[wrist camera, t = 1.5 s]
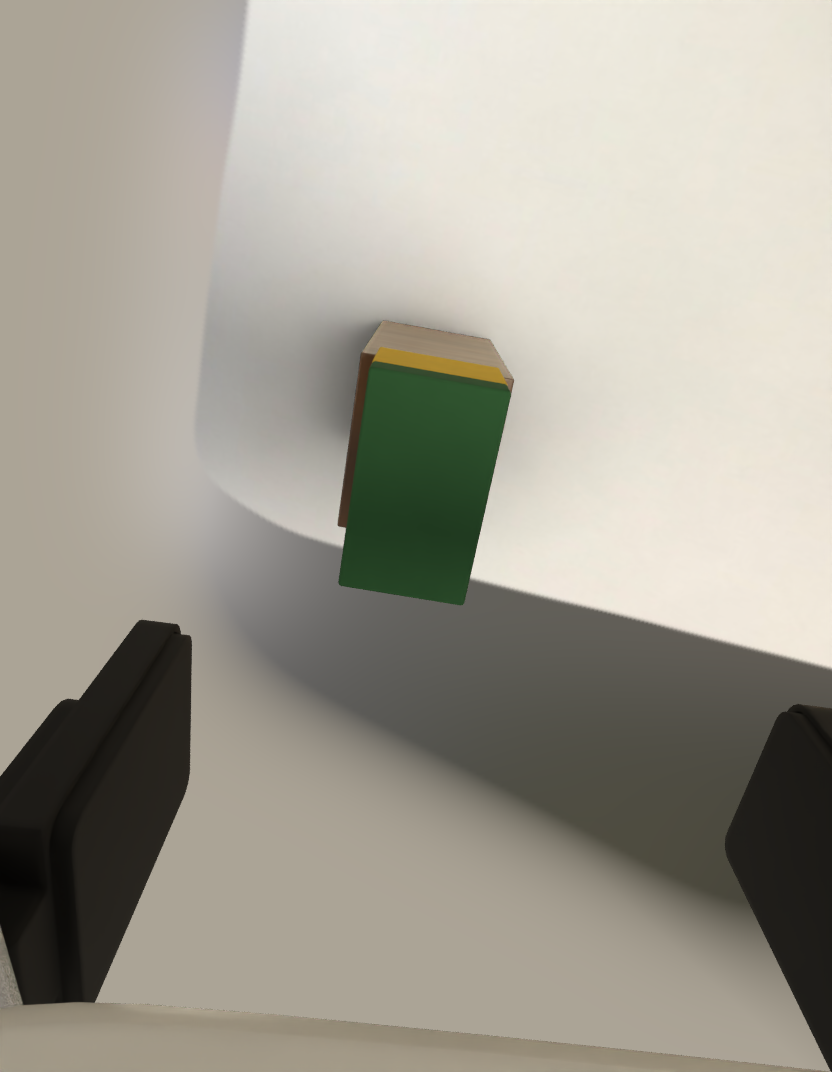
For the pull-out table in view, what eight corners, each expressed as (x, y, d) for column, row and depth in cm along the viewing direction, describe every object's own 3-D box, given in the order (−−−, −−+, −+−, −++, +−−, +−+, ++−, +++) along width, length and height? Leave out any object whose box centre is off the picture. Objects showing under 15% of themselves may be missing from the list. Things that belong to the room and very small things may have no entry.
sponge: (379, 346, 20) (368, 366, 16) (499, 367, 20) (512, 391, 17) (351, 536, 22) (337, 586, 19) (459, 554, 22) (463, 606, 19)
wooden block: (382, 320, 28) (360, 351, 20) (490, 339, 28) (514, 379, 20) (363, 449, 30) (337, 526, 22) (464, 466, 30) (476, 550, 22)
